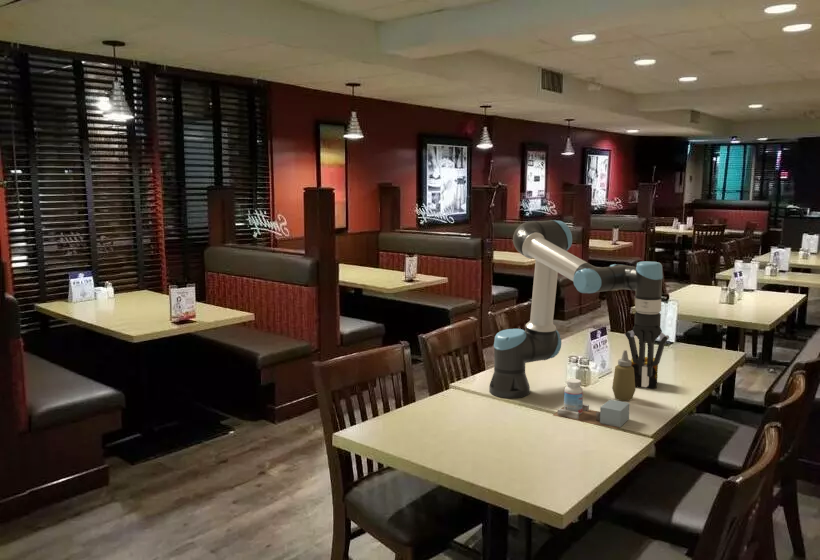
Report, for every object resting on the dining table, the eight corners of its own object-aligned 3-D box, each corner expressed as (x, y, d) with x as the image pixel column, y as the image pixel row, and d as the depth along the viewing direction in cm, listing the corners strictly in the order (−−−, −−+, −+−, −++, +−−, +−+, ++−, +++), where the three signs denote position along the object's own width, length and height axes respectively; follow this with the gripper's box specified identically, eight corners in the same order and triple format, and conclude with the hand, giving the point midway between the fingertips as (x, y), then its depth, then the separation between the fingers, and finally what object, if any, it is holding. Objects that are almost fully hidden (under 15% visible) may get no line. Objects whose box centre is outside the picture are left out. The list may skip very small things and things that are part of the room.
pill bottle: (582, 416, 216) (583, 383, 214) (564, 415, 217) (564, 382, 215) (581, 410, 222) (582, 378, 220) (563, 409, 223) (564, 377, 221)
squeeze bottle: (636, 396, 239) (638, 349, 237) (633, 403, 232) (635, 354, 229) (613, 393, 243) (615, 347, 240) (610, 400, 235) (612, 352, 233)
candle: (628, 386, 251) (629, 361, 249) (630, 379, 260) (631, 355, 259) (656, 389, 247) (657, 364, 246) (657, 382, 256) (658, 357, 255)
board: (552, 419, 218) (552, 407, 217) (565, 409, 227) (566, 398, 227) (617, 433, 205) (618, 421, 204) (629, 421, 215) (629, 410, 214)
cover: (599, 423, 209) (600, 407, 209) (609, 414, 217) (609, 399, 216) (620, 427, 206) (620, 411, 205) (628, 418, 213) (629, 402, 212)
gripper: (622, 311, 201) (620, 385, 205) (666, 316, 194) (663, 392, 197) (630, 307, 207) (627, 379, 211) (673, 312, 200) (669, 386, 203)
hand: (645, 385), depth 204 cm, fingers closed
